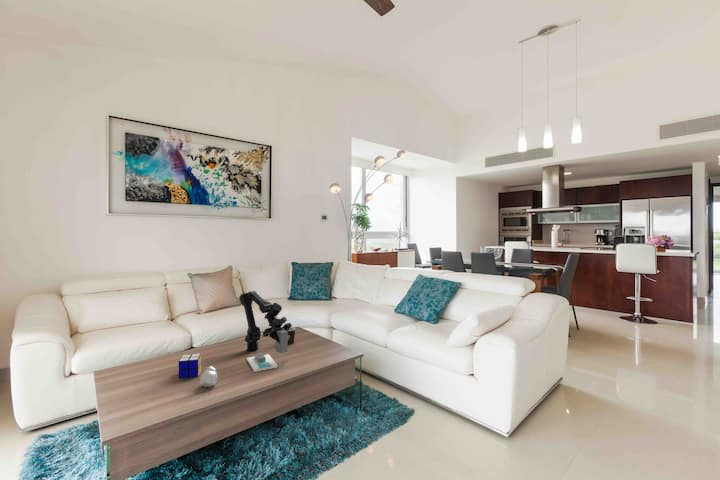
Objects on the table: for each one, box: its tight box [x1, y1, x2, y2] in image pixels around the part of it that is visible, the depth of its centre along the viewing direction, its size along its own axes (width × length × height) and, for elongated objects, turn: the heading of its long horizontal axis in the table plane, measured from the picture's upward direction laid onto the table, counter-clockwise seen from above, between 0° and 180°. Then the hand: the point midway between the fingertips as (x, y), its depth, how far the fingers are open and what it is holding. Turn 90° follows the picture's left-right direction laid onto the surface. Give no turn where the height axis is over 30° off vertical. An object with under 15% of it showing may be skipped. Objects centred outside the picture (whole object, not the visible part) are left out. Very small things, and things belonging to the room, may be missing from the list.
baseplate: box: [246, 352, 279, 373], centre depth 213 cm, size 22×14×4 cm, turn 29°
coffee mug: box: [288, 327, 296, 345], centre depth 252 cm, size 12×9×10 cm
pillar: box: [275, 330, 289, 354], centre depth 215 cm, size 5×5×12 cm
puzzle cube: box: [178, 353, 202, 380], centre depth 196 cm, size 10×10×10 cm
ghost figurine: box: [199, 365, 219, 388], centre depth 182 cm, size 9×10×10 cm
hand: (283, 341), depth 214 cm, fingers closed on pillar, 5 cm apart
